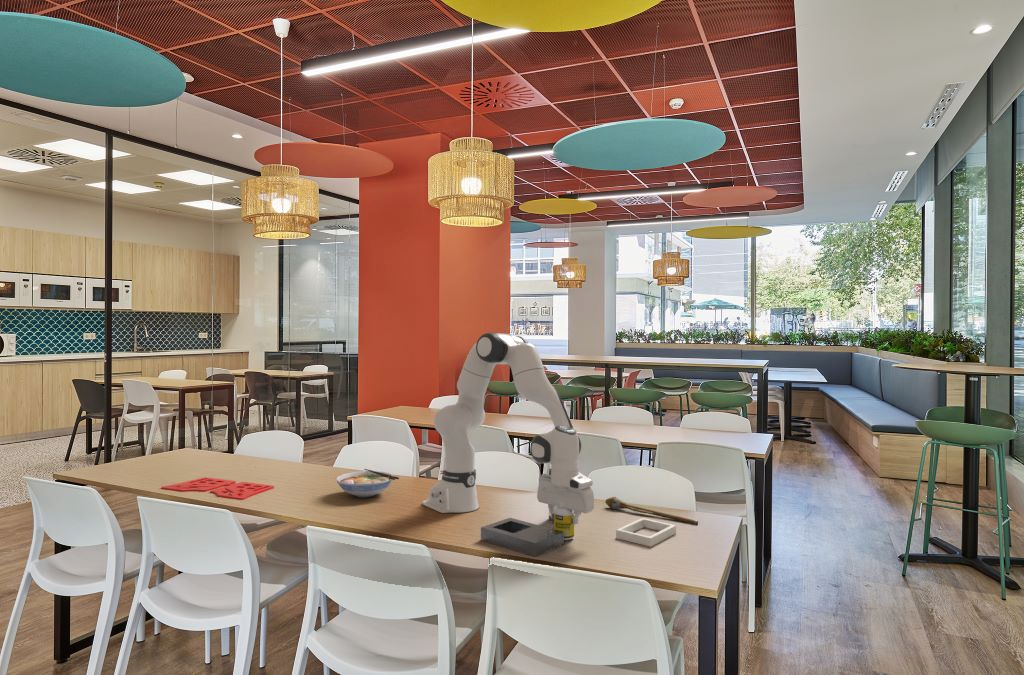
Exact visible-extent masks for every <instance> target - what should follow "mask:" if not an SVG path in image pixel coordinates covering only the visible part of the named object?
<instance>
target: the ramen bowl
mask: <svg viewBox="0 0 1024 675" xmlns="http://www.w3.org/2000/svg"><path fill="white" fill-rule="evenodd" d="M335 480H336V482H337V484H338V486H339V488H341V489H342V490H343V491H344V492H345V493H346V494H349V495H352V496H355V497H356V498H370V497H374V496H376V495H378V494H380V493H382V492H384V491H385V490H386V489H388V488H389V486H390V485H391V484H392V481H396V480H400V477H398V476H396V475H394V474H393V473H391V472H388V471H387V472H386V471H378V470H371V469H367V468H364V469H363V471H353V472H347V473H343V474H341V475H338V476H336V479H335Z"/></svg>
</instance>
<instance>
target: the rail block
mask: <svg viewBox="0 0 1024 675" xmlns="http://www.w3.org/2000/svg"><path fill="white" fill-rule="evenodd" d="M480 541H483V542H486V543H489V544H493V545H497V546H498V547H502V548H506V549H509V550H510V551H511V550H512V551H515V552H518V553H521V554H524V553H525V555H528V554H529V555H528V556H531V555H532V557H534V556H535V557H538V556H540V554H541V555H543V554H545V553H547V551H548V552H550V551H552V550H554V549H553V548H555V549H557V548H559V547H561V546H560V545H562V546H564V541H565V540H564V532H563V531H559V530H555V529H554V528H551V527H547V526H543V525H539V524H535V523H531V522H528V521H524V520H520V519H517V518H512V517H507V518H505V519H502V520H499V521H496V522H493V523H489V524H487V525H484V526H481V527H480ZM558 546H559V547H558ZM556 547H557V548H556ZM551 549H552V550H551ZM549 550H550V551H549ZM544 552H545V553H544ZM542 553H543V554H542ZM535 557H534V558H535Z"/></svg>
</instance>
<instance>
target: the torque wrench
mask: <svg viewBox="0 0 1024 675" xmlns="http://www.w3.org/2000/svg"><path fill="white" fill-rule="evenodd" d="M604 503H605V504H606V505H607V507H608V508H610V509H611V510H623V509H626V510H627V509H628V510H630V511H633V512H637V513H643V514H649V515H653V516H657V517H662V518H664V519H665V518H666V519H669V520H673V521H678V522H682V523H686V524H691V525H695V526H697V525H698V523H699V520H696V519H692V518H691V519H690V518H687V517H683V516H678V515H674V514H670V513H665V512H662V511H658V510H653V509H650V508H645V507H640V506H637V505H633V504H632V505H631V504H629V503H626V502H624V501H623V500H621V499H619V498H617V497H616V496H611V497H609V498H606V499H605V502H604Z"/></svg>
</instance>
